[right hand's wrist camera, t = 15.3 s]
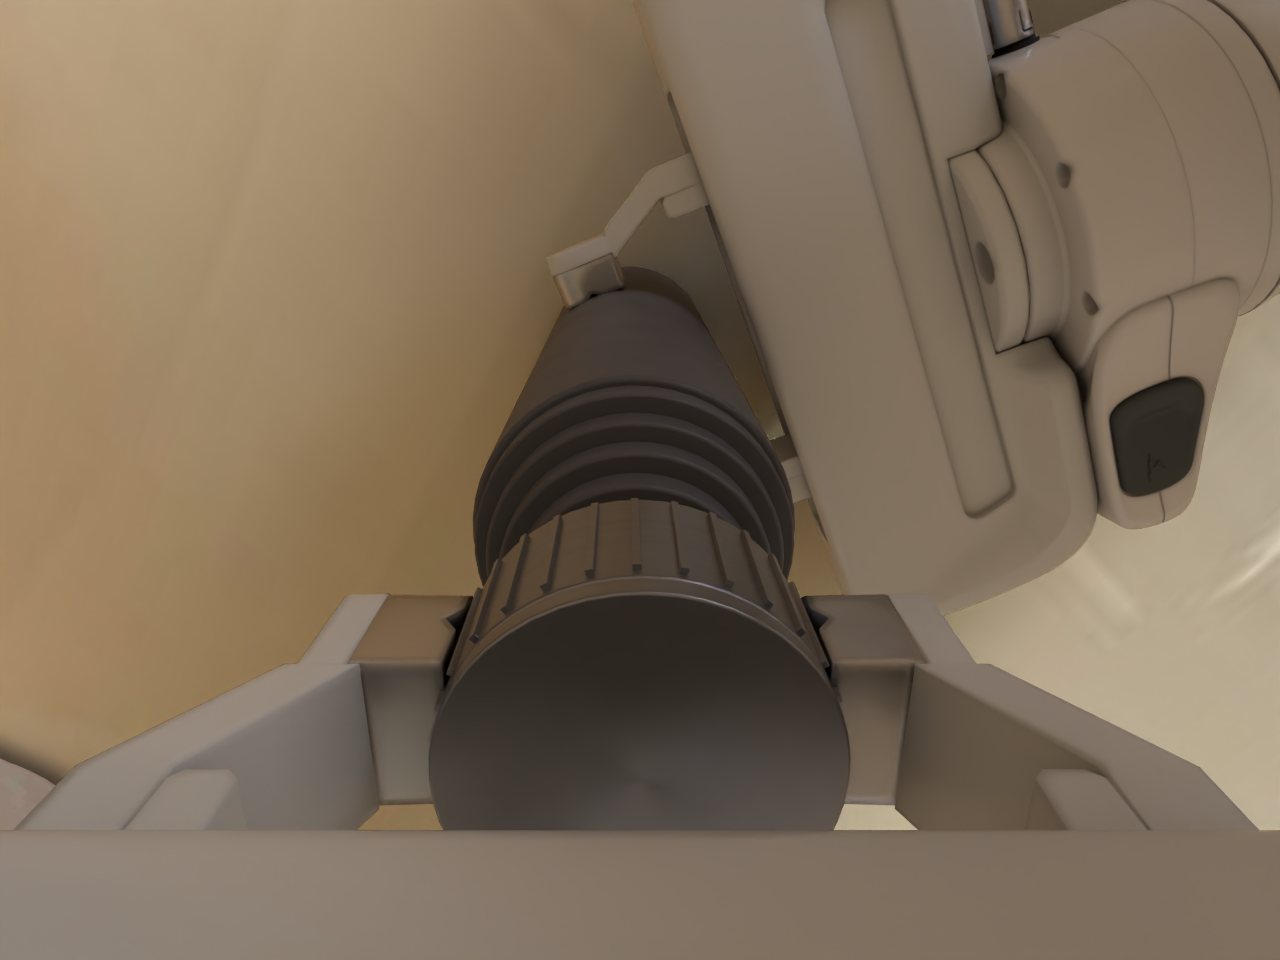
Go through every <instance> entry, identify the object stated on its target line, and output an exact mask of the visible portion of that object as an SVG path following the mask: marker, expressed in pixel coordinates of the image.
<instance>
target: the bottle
mask: <svg viewBox="0 0 1280 960" xmlns="http://www.w3.org/2000/svg"><path fill="white" fill-rule="evenodd" d="M621 270H622V273H623V275H624V278H625V282H624V287H622V288H619V289H617V290H614V291H612V292H609V293H605V294H602V295H597V294H593V293H592V294H591V296H590V298H589V299H588V300H587V301H585V302H584V303H582V304H580V305H578V306H575V307H572V308H566V306H564V307H563V309H562V312H561V314H560V316H559V318H558V320H557V322H556V324H555V326H554V328H553V330H552V332H551V334H550V336H549V338H548V340H547V342H546V344H545V346H544V348H543V350H542V352H541V354H540V356H539V358H538V360H537V362H536V364H535V366H534V368H533V370H532V372H531V374H530V377H529V379H528V381H527V383H526V385H525V387H524V389H523V391H522V393H521V395H520V397H519V399H518V401H517V403H516V405H515V407H514V409H513V411H512V413H511V415H510V417H509V419H508V421H507V423H506V425H505V427H504V429H503V431H502V433H501V435H500V437H499V439H498V442H497V444H496V446H495V448H494V450H493V452H492V454H491V456H490V458H489V460H488V462H487V464H486V467H485V469H484V472H483V474H482V476H481V479H480V482H479V486H478V490H477V494H476V497H475V505H474V514H473V534H474V543H475V556H476V561H477V567H478V572H479V575H480V578H481V581H482V585H483V587H484V585H485V583H486V581H487V579H488V578H489V576H490V574H491V571H492V568H493V565H494V562H495V561H496V560H497V559H498V558H499V559H500V560H502V559H503V558H504V557H505V556H506V555H507V554H508V553H509V551H510V550H511V549H512V548H513V547H514V546H515V545H517V544H518V543H519V541H520V538H521V536H523V535H524V534H525V533H526V534H527V535H529V534H530V533H532V532H533V531H535V530H536V529H538V528H540V527H541V526H543V525H545V524H546V523H548V522H550V521H551V520H553V517H554V516H556V515H559V514H560V515H561V516H563V515H565V514H567V513H569V512H572V511H575V510H578V509H582V508H585V507H588V506H591V503H596V502H598V504H601V503H607V502H613V501H624V500H631V498H638V500H651V501H664V502H669V503H671V501H675V502H678V504H679V505H684V506H688V507H691V508H694V509H697V510H700V511H703V512H706V513H709V512H712V513H715V514H716V516H717V518H719V519H721V520H723V521H726V522H728V523H730V524H731V525H733V526H734V527H736V528H737V529H739V530H740V531H742V530H743V529H744V530H746V531H747V532H749V534H750V537H751V539H752V540H753V541H755V542H756V543H757V544H758V545H759V546H760V547H761V548H763V549H764V550H765V552H766V553H767V554H768V555H770V554H771V553H773V555H774V556H775V557H776V559H777V561H778V563H779V566H780V568H781V571H782V573H783V575H784V577H785V578H786V580H787V579H788V575H789V572H790V568H791V564H792V557H793V548H794V530H795V520H794V505H793V499H792V493H791V488H790V485H789V482H788V479H787V476H786V473H785V470H784V468H783V466H782V464H781V462H780V460H779V458H778V456H777V454H776V452H775V450H774V448H773V446H772V445H771V443H770V441H769V439H768V437H767V436H766V434H765V432H764V430H763V428H762V427H761V425H760V423H759V421H758V419H757V418H756V416H755V414H754V412H753V410H752V408H751V407H750V405H749V403H748V401H747V399H746V398H745V396H744V394H743V392H742V390H741V389H740V387H739V385H738V383H737V381H736V380H735V378H734V376H733V374H732V372H731V371H730V369H729V367H728V365H727V363H726V362H725V360H724V358H723V356H722V354H721V353H720V351H719V349H718V347H717V345H716V344H715V342H714V340H713V338H712V336H711V335H710V333H709V331H708V329H707V327H706V325H705V324H704V322H703V320H702V318H701V316H700V315H699V313H698V311H697V309H696V307H695V306H694V304H693V302H692V301H691V299H690V298H689V296H688V295H687V294H686V293H685V292H684V291H683V290H682V288H680V287H679V286H678V285H677V284H676V283H675V282H673V281H672V280H670V279H669V278H667V277H666V276H664V275H661V274H659V273H657V272H654V271H651V270H648V269H643V268H637V267H623V268H621Z"/></svg>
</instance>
